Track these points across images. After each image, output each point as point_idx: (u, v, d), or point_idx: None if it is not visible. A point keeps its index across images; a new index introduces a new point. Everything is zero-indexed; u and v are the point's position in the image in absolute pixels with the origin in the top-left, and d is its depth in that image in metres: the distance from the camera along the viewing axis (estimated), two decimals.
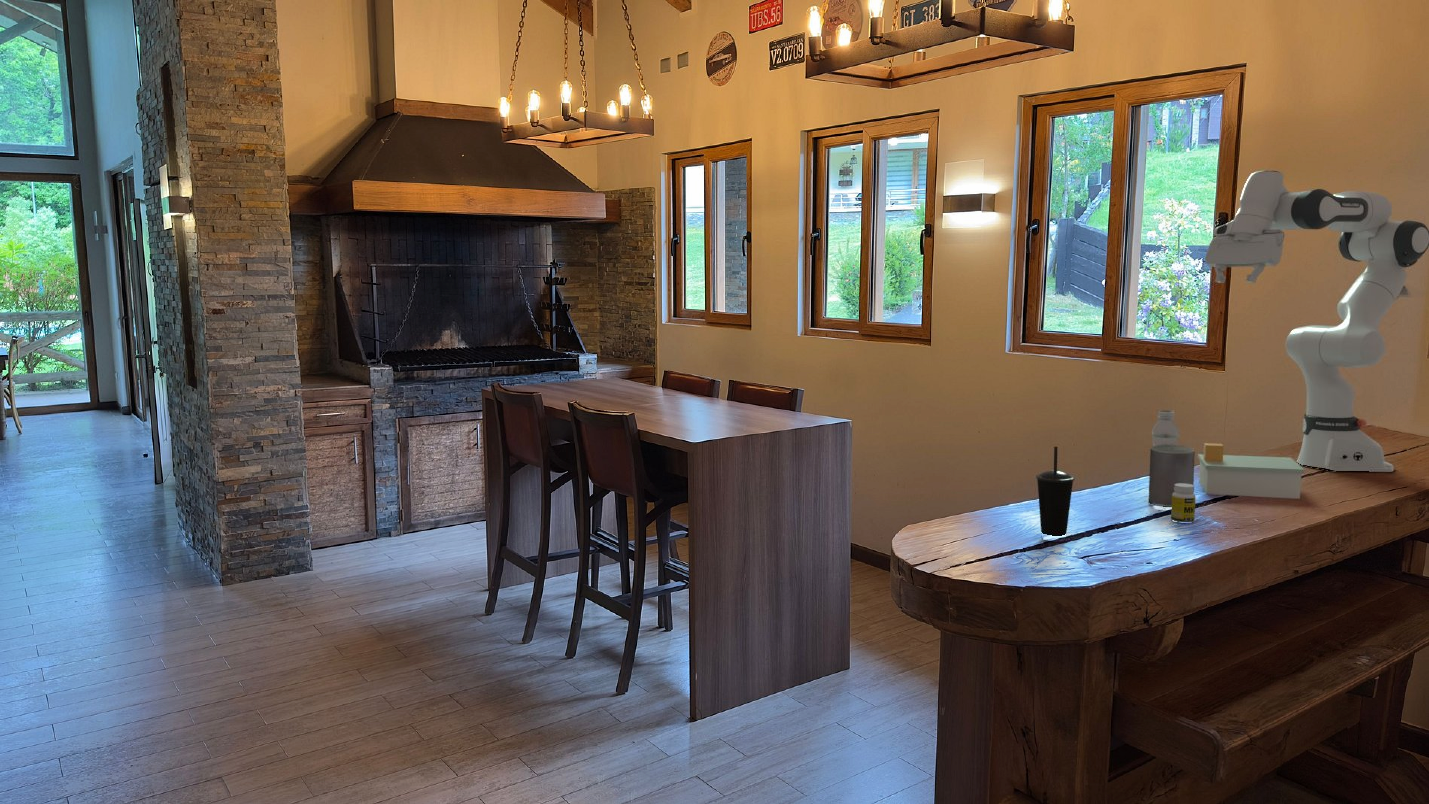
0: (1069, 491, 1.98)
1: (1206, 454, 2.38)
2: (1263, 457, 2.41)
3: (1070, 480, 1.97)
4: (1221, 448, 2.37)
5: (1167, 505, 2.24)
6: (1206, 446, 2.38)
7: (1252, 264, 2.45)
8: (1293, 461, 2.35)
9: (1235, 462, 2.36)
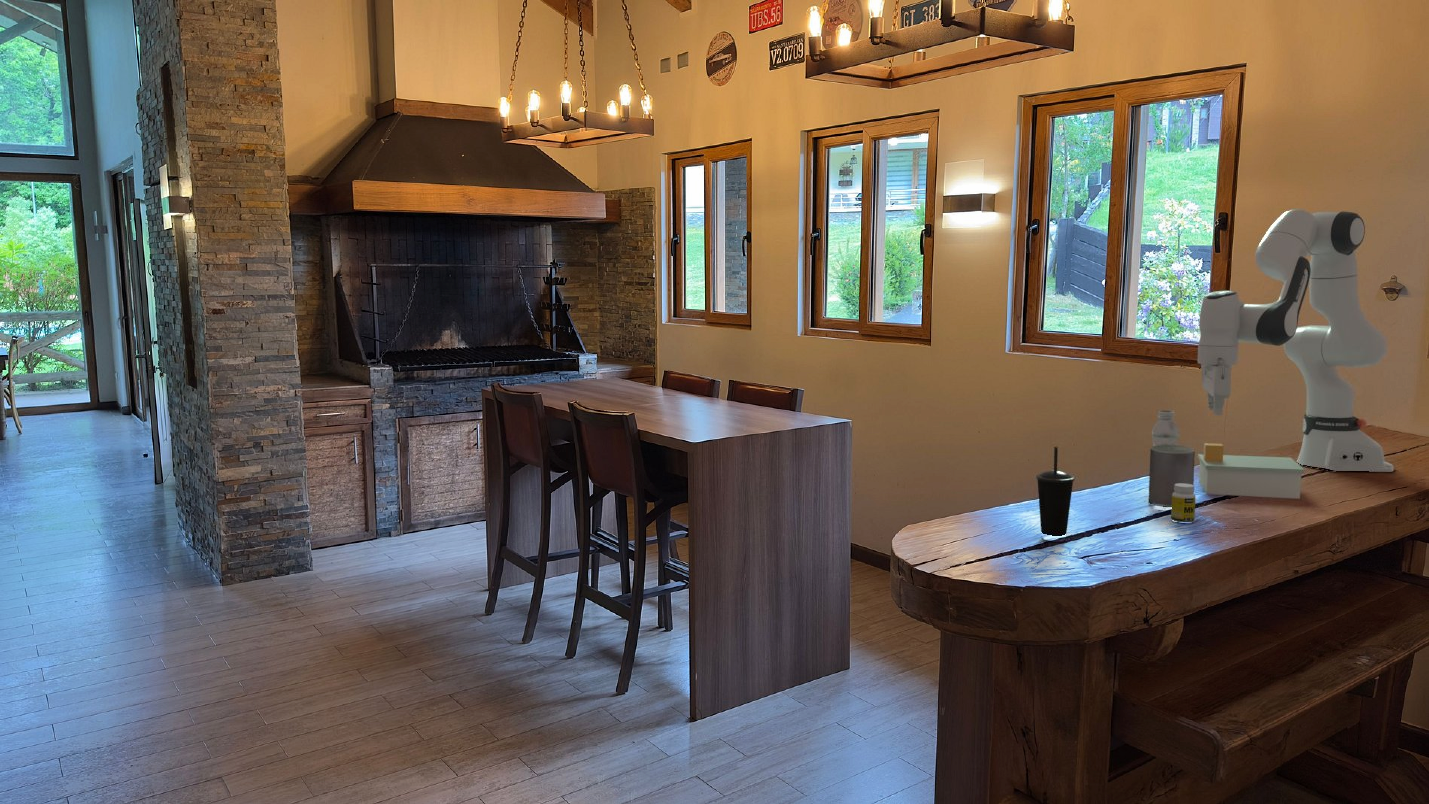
0: (1069, 491, 1.98)
1: (1206, 454, 2.38)
2: (1263, 457, 2.41)
3: (1070, 480, 1.97)
4: (1221, 448, 2.37)
5: (1167, 505, 2.24)
6: (1206, 446, 2.38)
7: None
8: (1293, 461, 2.35)
9: (1235, 462, 2.36)
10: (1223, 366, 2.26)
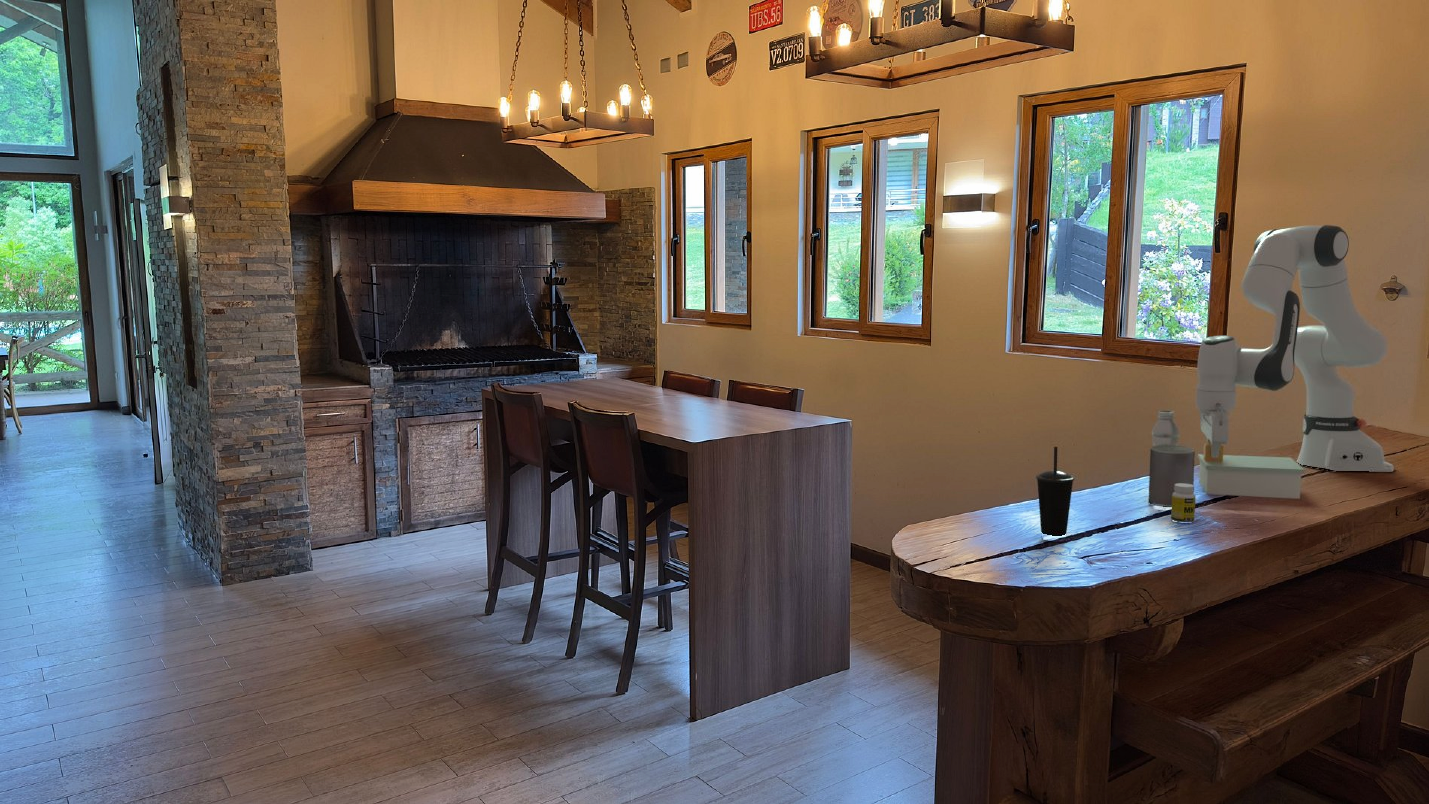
0: (1069, 491, 1.98)
1: (1206, 454, 2.38)
2: (1263, 457, 2.41)
3: (1070, 480, 1.97)
4: (1221, 448, 2.37)
5: (1167, 505, 2.24)
6: (1206, 446, 2.38)
7: None
8: (1293, 461, 2.35)
9: (1235, 462, 2.36)
10: (1221, 413, 2.28)
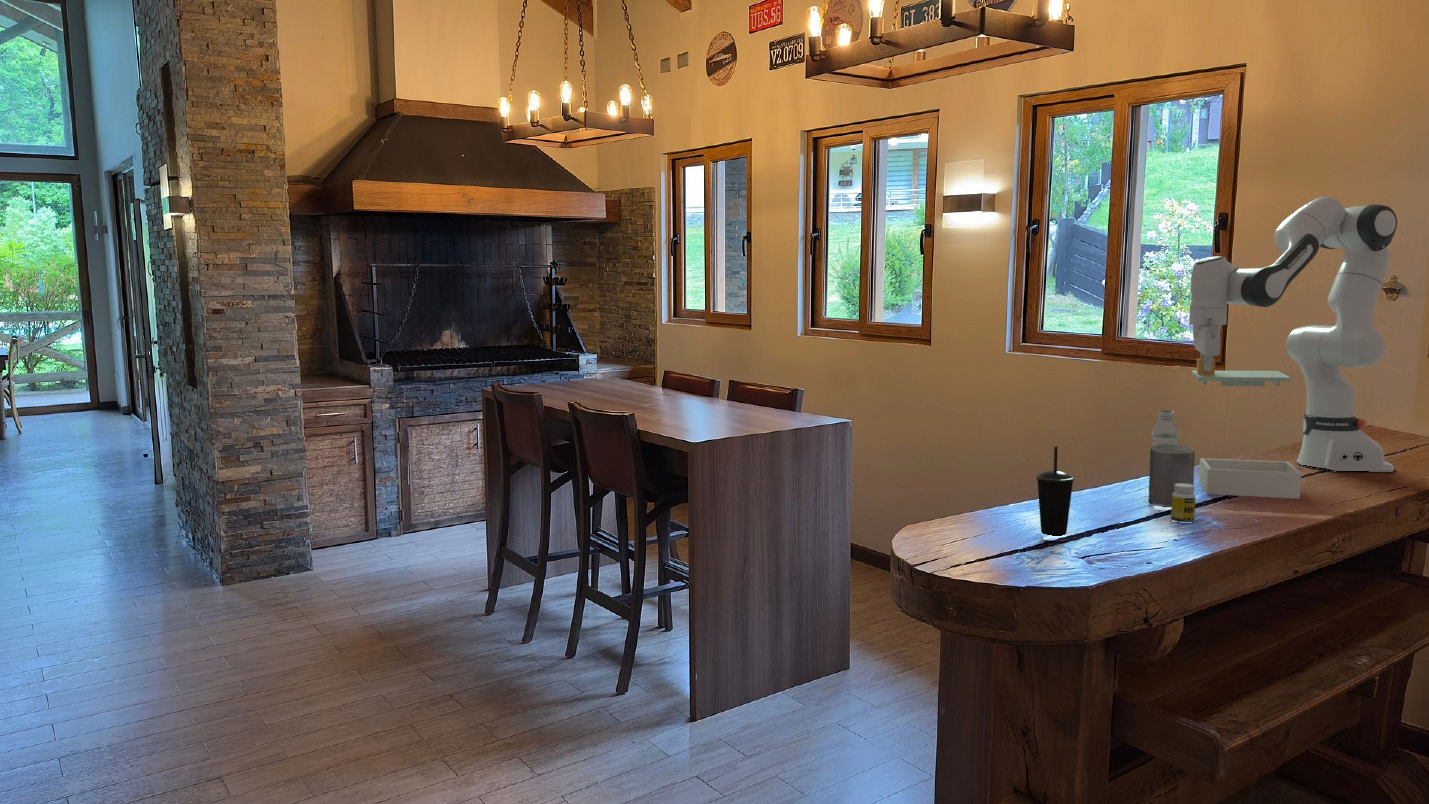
0: (1069, 491, 1.98)
1: (1199, 368, 2.54)
2: (1252, 371, 2.57)
3: (1070, 480, 1.97)
4: (1213, 362, 2.53)
5: (1167, 505, 2.24)
6: (1199, 360, 2.54)
7: None
8: (1280, 373, 2.51)
9: (1226, 374, 2.52)
10: (1213, 326, 2.44)
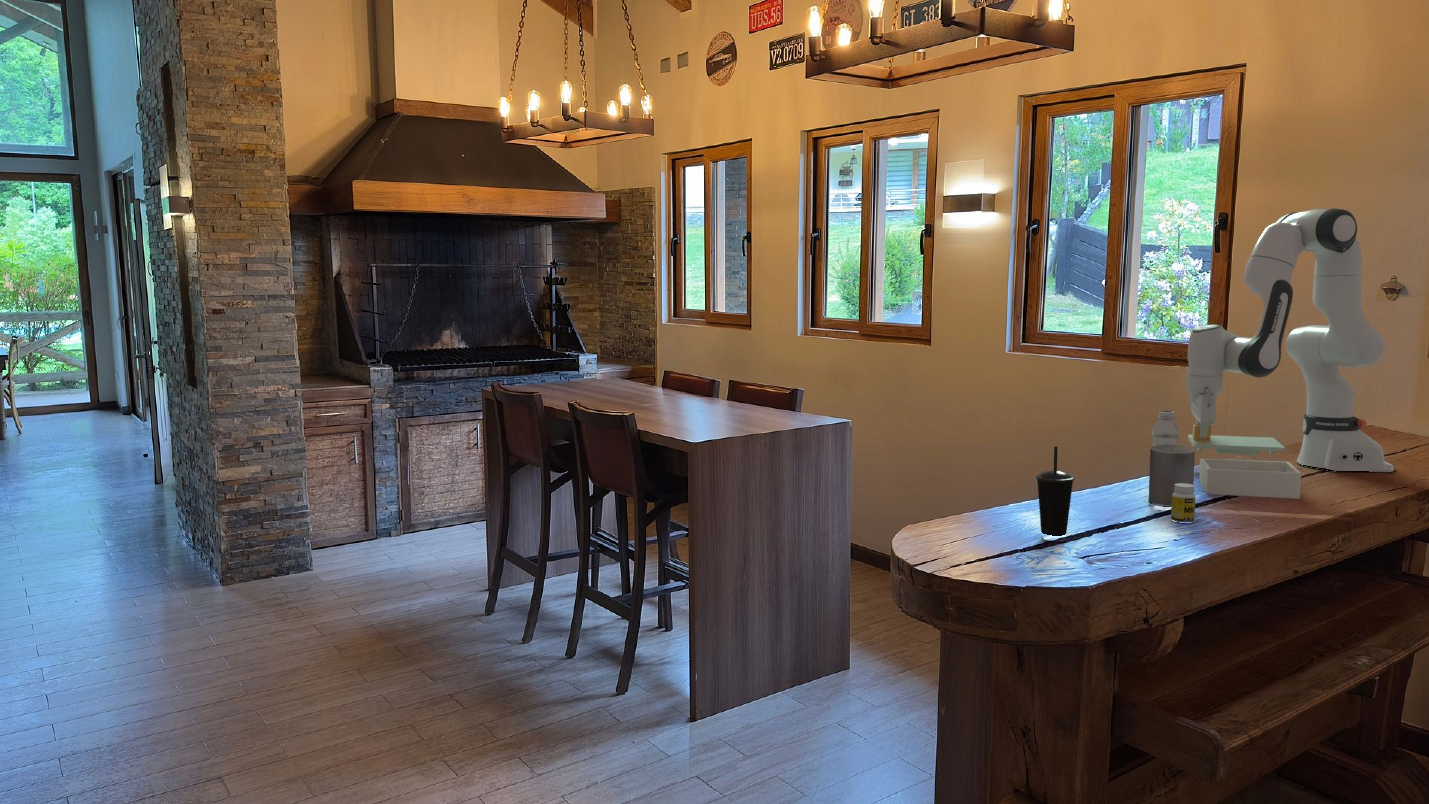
0: (1069, 491, 1.98)
1: (1195, 434, 2.57)
2: (1248, 437, 2.60)
3: (1070, 480, 1.97)
4: (1209, 428, 2.56)
5: (1167, 505, 2.24)
6: (1195, 426, 2.57)
7: None
8: (1275, 440, 2.54)
9: (1222, 441, 2.55)
10: (1209, 395, 2.47)
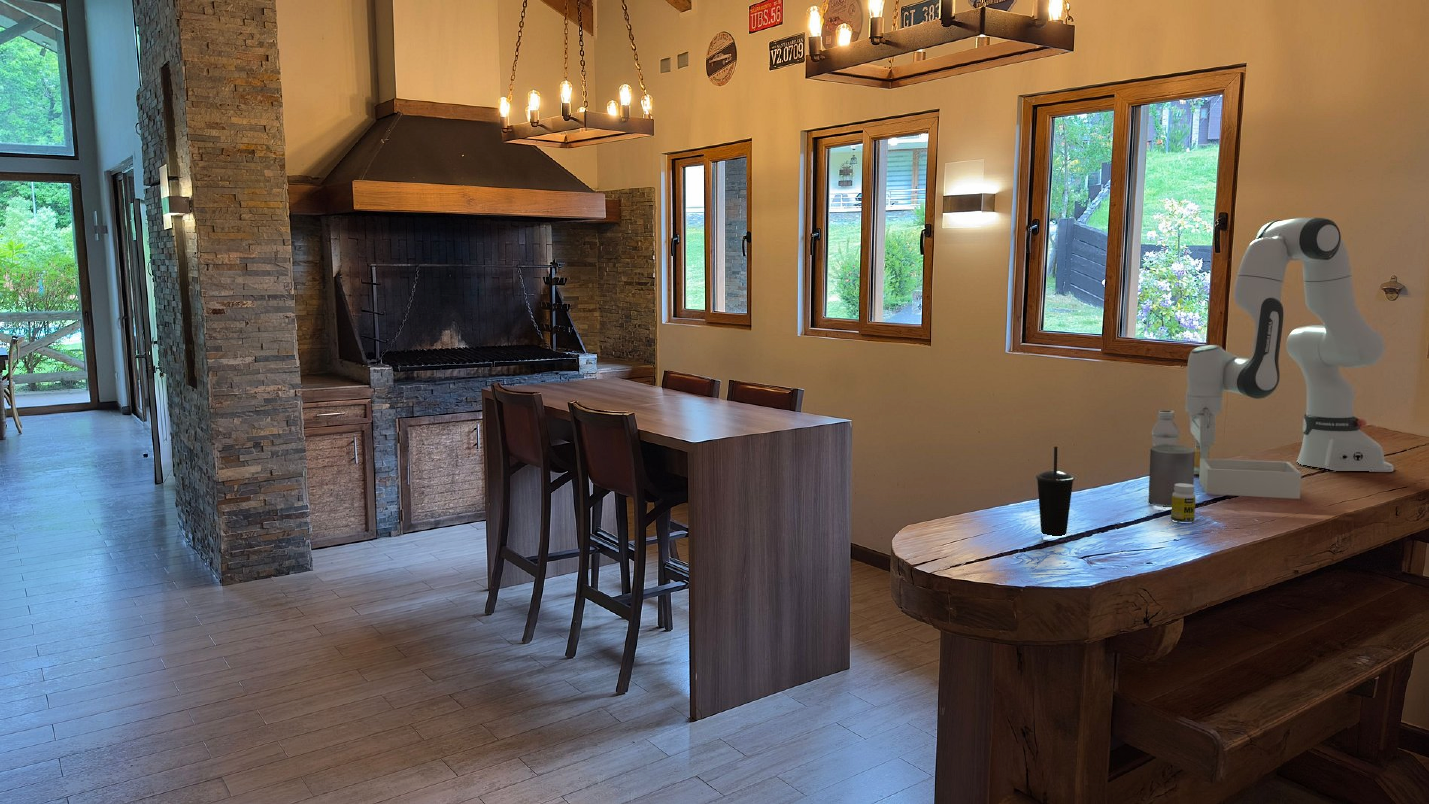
0: (1069, 491, 1.98)
1: None
2: None
3: (1070, 480, 1.97)
4: None
5: (1167, 505, 2.24)
6: None
7: None
8: None
9: None
10: (1208, 416, 2.48)
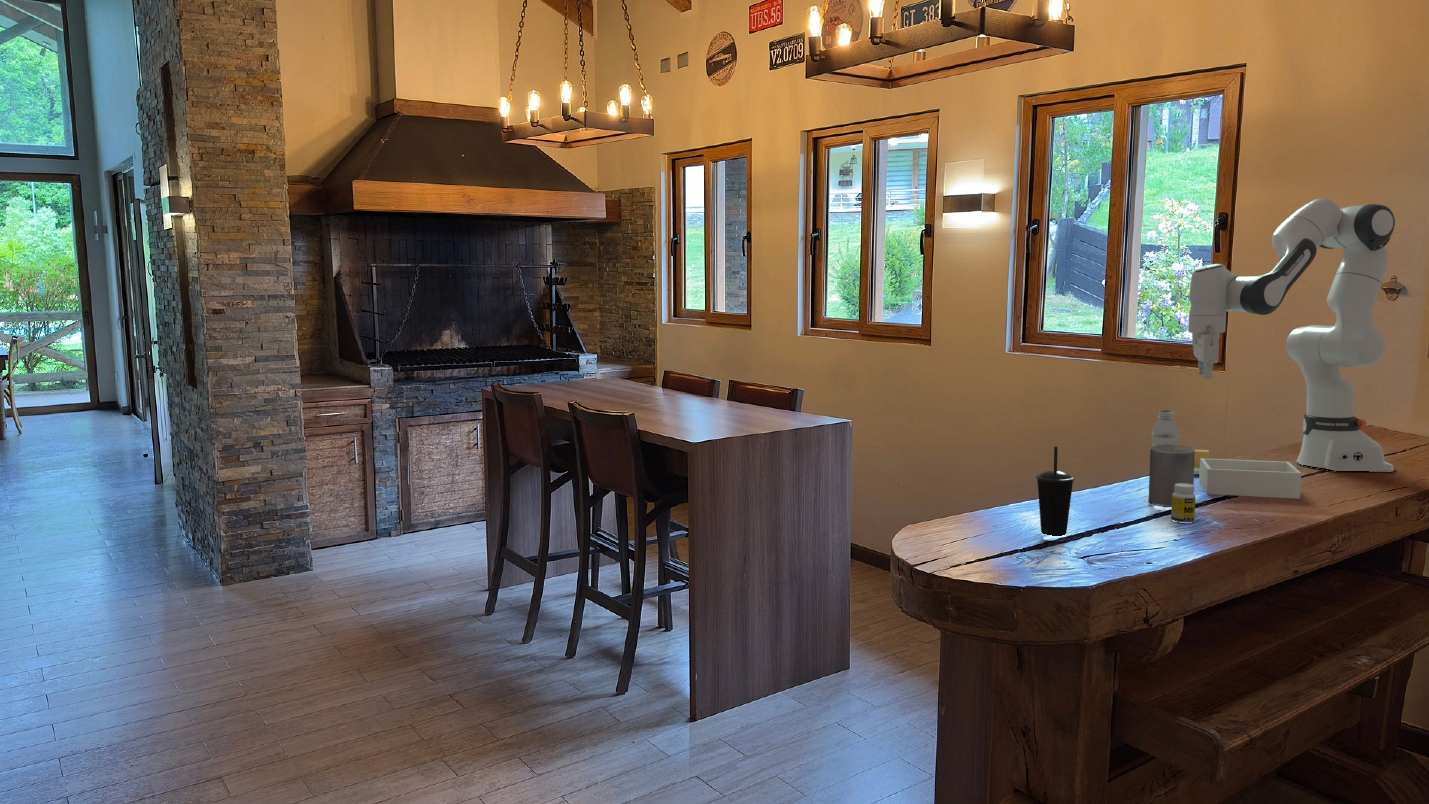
0: (1069, 491, 1.98)
1: None
2: None
3: (1070, 480, 1.97)
4: (1207, 454, 2.57)
5: (1167, 505, 2.24)
6: None
7: None
8: None
9: None
10: (1211, 333, 2.45)
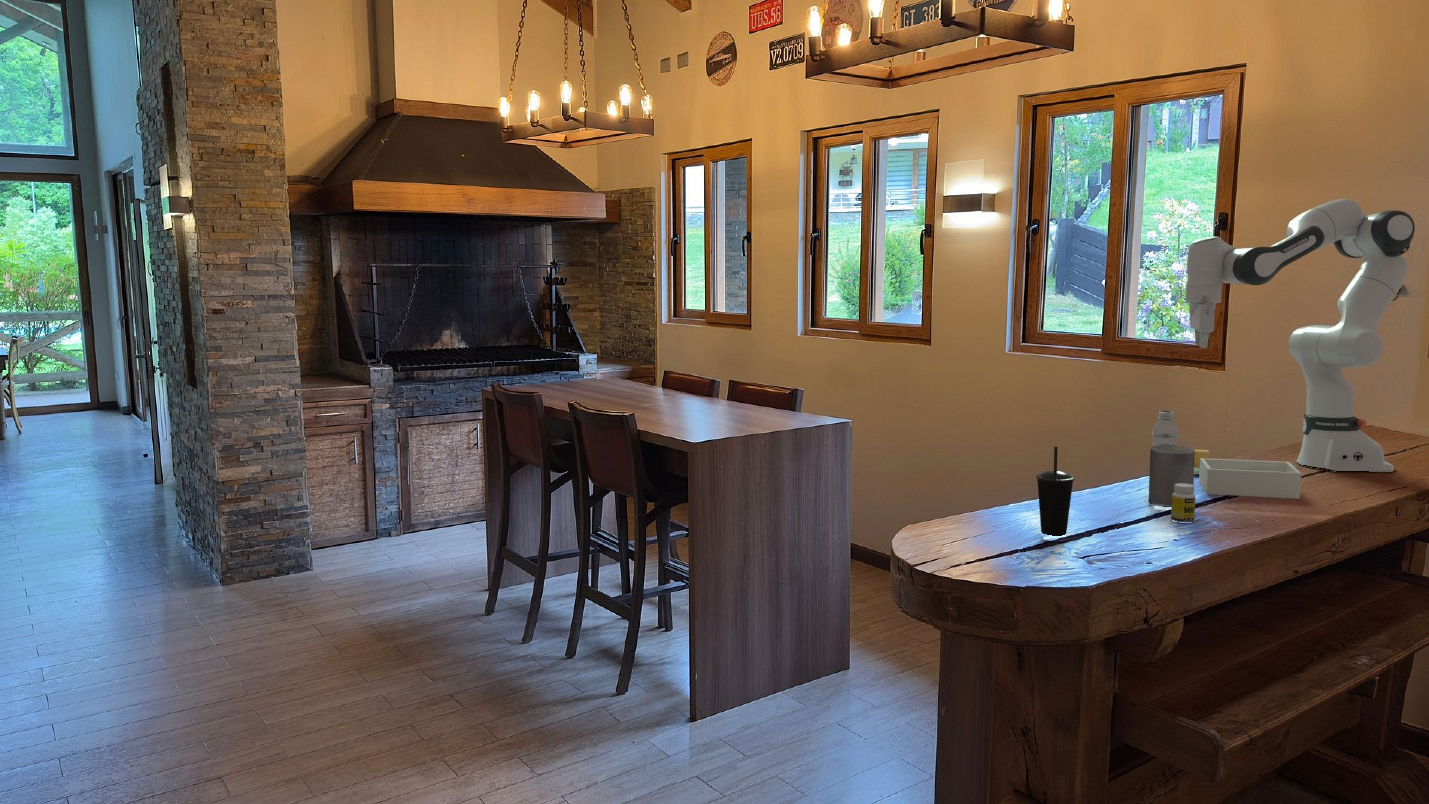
0: (1069, 491, 1.98)
1: None
2: None
3: (1070, 480, 1.97)
4: (1207, 454, 2.57)
5: (1167, 505, 2.24)
6: None
7: None
8: None
9: None
10: (1207, 303, 2.53)
